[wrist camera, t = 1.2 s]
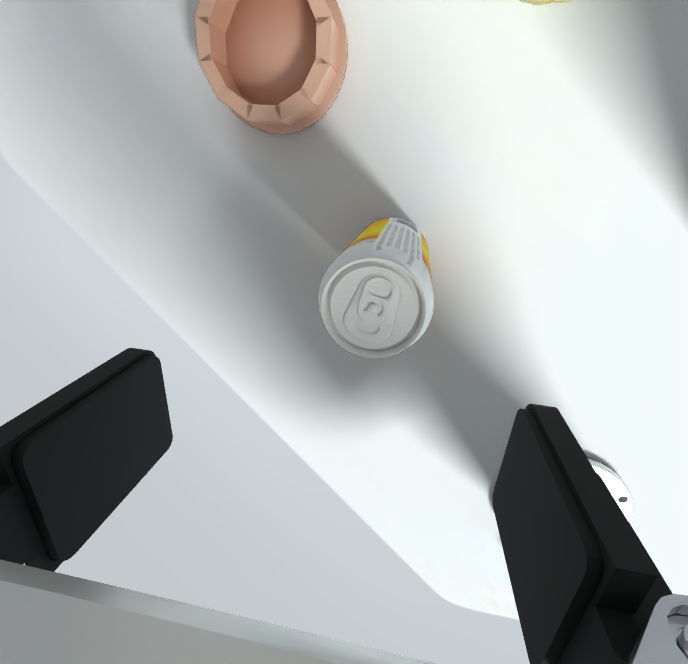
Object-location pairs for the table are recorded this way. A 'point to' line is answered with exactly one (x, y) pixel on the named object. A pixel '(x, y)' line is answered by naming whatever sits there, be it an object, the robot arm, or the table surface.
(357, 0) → the table surface
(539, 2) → the bread roll
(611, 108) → the table surface
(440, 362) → the table surface
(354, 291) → the beer can
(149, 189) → the table surface
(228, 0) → the jar base
